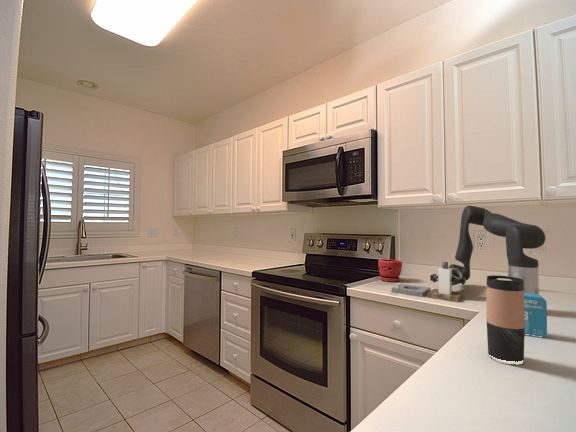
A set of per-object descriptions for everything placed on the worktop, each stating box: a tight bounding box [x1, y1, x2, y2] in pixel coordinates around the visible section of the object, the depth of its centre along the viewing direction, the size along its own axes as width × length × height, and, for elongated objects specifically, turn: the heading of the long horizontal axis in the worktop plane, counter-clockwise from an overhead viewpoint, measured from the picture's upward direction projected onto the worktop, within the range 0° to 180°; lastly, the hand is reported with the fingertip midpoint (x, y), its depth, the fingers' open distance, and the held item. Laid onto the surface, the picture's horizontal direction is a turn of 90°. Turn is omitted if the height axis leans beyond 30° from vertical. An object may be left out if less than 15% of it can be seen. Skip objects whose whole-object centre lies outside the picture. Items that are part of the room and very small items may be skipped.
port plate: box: [391, 283, 432, 298], centre depth 144 cm, size 14×14×3 cm
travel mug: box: [486, 274, 526, 362], centre depth 74 cm, size 8×8×20 cm
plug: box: [437, 261, 453, 295], centre depth 134 cm, size 4×4×16 cm
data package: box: [524, 293, 548, 338], centre depth 91 cm, size 12×4×12 cm, turn 60°
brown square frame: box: [426, 288, 464, 303], centre depth 134 cm, size 12×12×2 cm
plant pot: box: [377, 258, 403, 283], centre depth 173 cm, size 13×13×12 cm
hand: (444, 281), depth 133 cm, fingers open, 8 cm apart
